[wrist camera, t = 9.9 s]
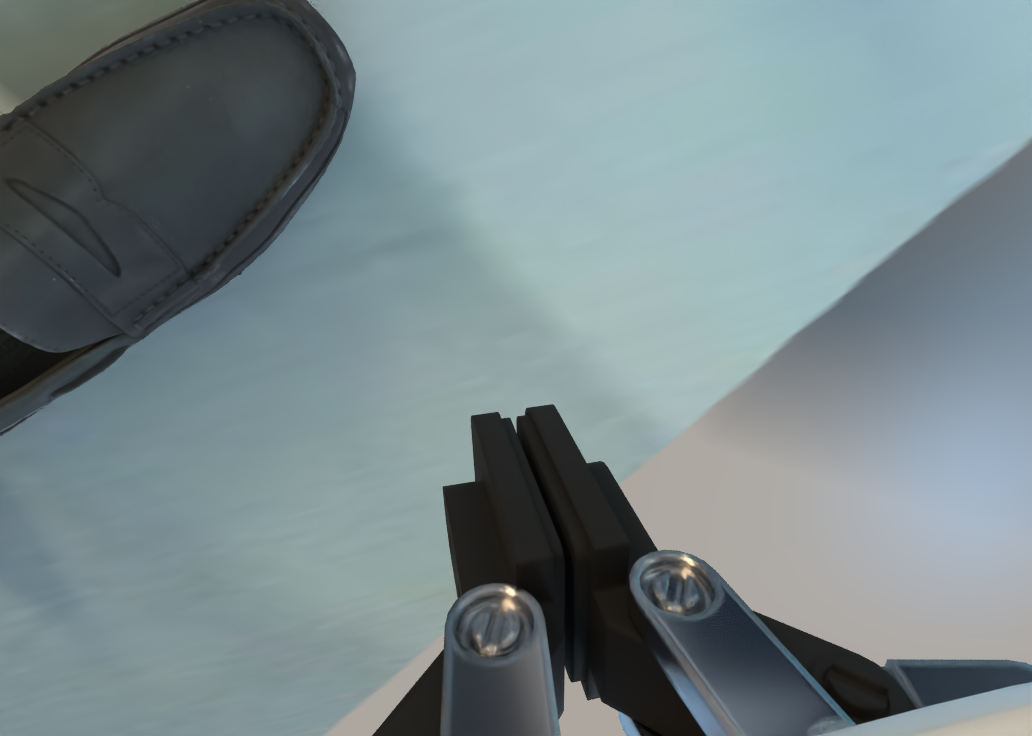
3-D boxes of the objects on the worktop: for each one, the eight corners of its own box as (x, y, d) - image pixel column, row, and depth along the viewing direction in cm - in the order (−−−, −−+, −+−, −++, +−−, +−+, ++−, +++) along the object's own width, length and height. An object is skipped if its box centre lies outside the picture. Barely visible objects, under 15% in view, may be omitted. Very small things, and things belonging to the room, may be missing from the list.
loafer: (403, 110, 29) (417, 126, 20) (40, 467, 33) (-81, 611, 24) (226, -94, 24) (143, -192, 15) (-174, 354, 28) (-422, 481, 20)
